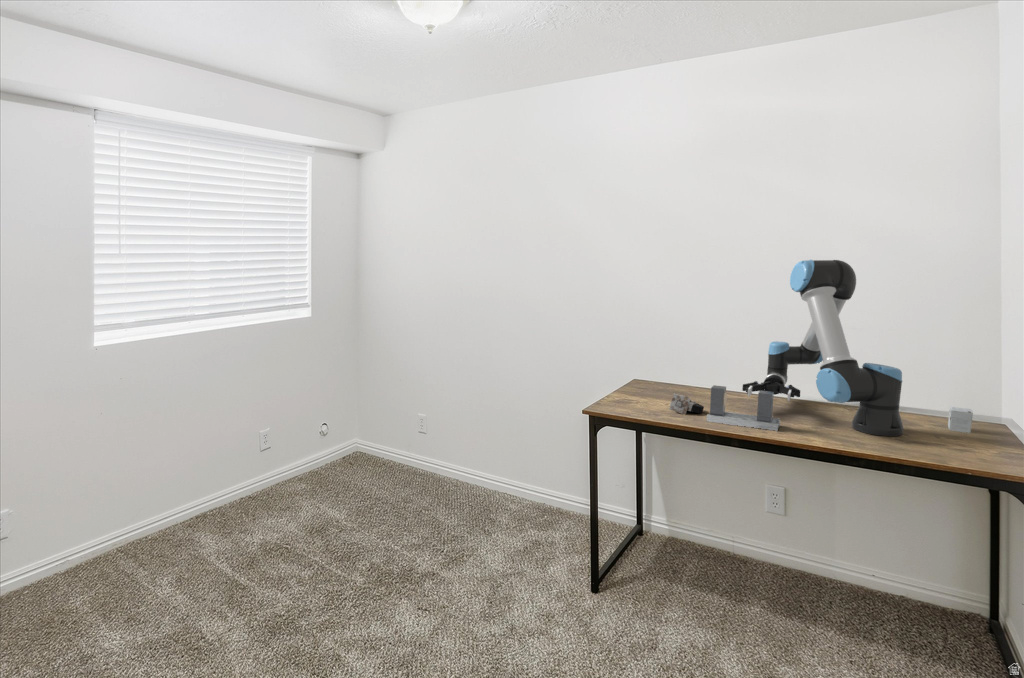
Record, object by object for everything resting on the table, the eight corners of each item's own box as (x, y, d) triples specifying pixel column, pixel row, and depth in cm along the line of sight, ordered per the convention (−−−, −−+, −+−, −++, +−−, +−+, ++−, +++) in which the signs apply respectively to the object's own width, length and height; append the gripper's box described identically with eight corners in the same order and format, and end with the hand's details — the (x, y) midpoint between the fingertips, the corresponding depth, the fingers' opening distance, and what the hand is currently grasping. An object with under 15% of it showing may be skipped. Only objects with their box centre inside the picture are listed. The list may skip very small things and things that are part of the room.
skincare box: (947, 426, 204) (949, 406, 203) (968, 429, 201) (971, 408, 200) (948, 430, 199) (951, 410, 198) (971, 433, 196) (973, 412, 195)
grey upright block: (771, 421, 205) (773, 391, 203) (770, 424, 201) (772, 394, 199) (757, 419, 207) (759, 390, 205) (755, 422, 203) (757, 392, 202)
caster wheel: (702, 417, 225) (696, 419, 216) (675, 407, 231) (668, 409, 222) (707, 401, 224) (701, 403, 216) (680, 391, 230) (673, 393, 221)
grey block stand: (779, 425, 205) (782, 391, 203) (777, 431, 198) (779, 396, 197) (710, 416, 217) (712, 384, 215) (706, 421, 210) (708, 388, 209)
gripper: (808, 396, 223) (805, 409, 205) (740, 389, 236) (732, 400, 218) (809, 377, 222) (806, 388, 204) (741, 371, 235) (733, 381, 217)
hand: (768, 394), depth 211 cm, fingers open, 13 cm apart
